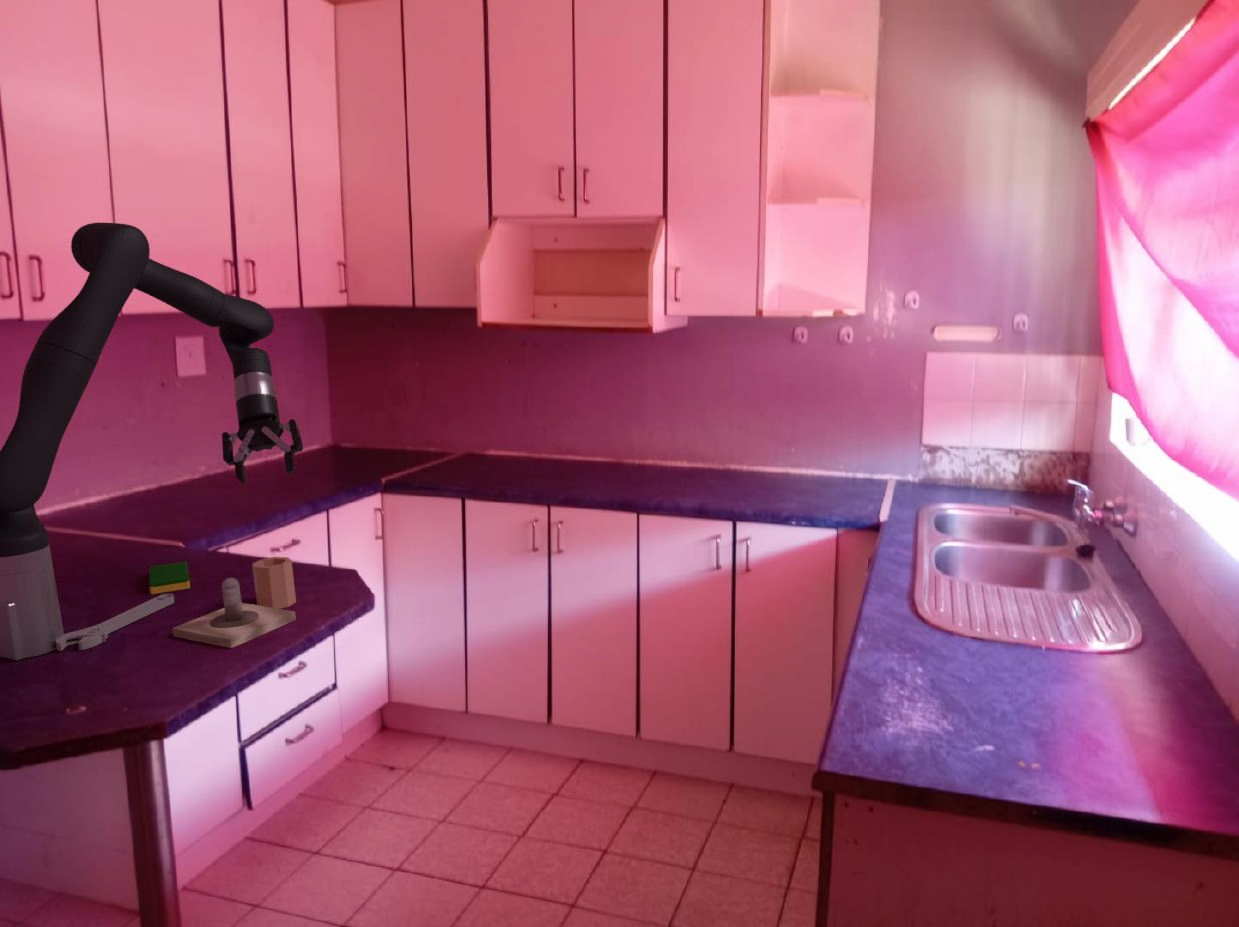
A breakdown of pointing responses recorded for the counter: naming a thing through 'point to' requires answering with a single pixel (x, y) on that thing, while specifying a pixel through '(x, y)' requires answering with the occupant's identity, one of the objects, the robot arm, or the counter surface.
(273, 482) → the counter surface
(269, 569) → the collar
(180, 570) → the dish sponge
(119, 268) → the robot arm
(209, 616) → the post stand
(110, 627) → the adjustable wrench
